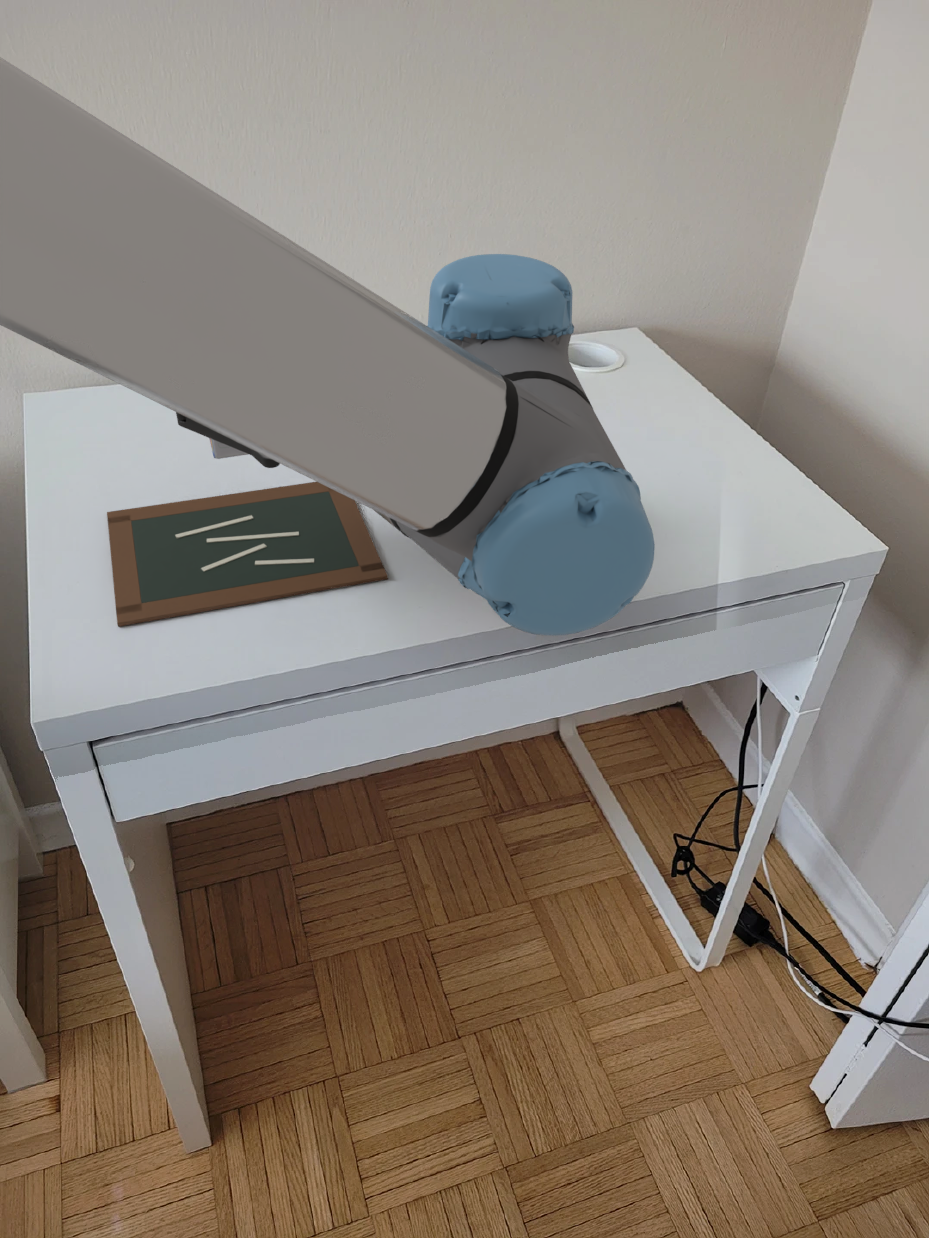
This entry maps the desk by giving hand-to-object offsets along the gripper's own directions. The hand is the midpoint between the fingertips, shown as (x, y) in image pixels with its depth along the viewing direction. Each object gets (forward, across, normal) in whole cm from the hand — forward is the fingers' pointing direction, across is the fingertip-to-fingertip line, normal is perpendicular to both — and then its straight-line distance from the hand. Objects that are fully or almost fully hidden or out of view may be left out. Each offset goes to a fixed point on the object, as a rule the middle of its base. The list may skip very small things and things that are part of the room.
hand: (235, 340), depth 77 cm
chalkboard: (-4, -4, -17) cm, 18 cm away
